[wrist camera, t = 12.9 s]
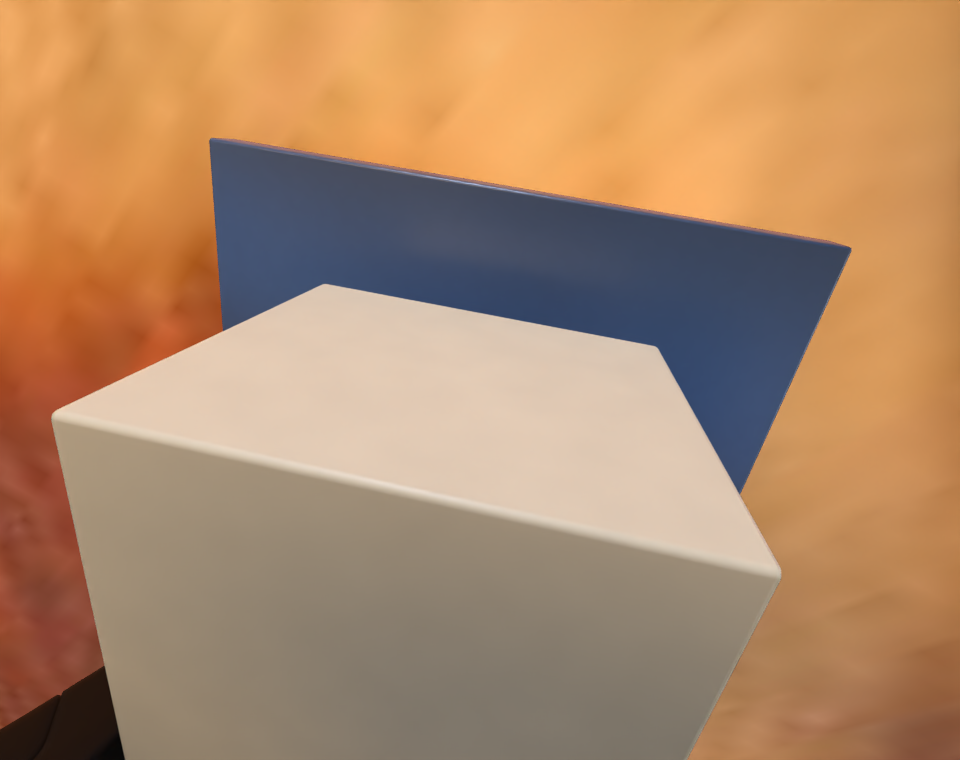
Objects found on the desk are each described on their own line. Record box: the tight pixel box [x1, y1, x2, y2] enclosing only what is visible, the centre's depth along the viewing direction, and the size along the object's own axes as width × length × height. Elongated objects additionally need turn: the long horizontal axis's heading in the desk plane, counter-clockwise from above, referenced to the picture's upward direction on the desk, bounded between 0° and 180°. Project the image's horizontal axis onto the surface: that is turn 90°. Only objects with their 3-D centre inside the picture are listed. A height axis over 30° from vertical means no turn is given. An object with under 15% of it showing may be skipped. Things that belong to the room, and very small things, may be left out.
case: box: [51, 284, 781, 760], centre depth 8 cm, size 11×5×5 cm, turn 171°
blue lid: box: [209, 138, 851, 494], centre depth 12 cm, size 14×12×1 cm
